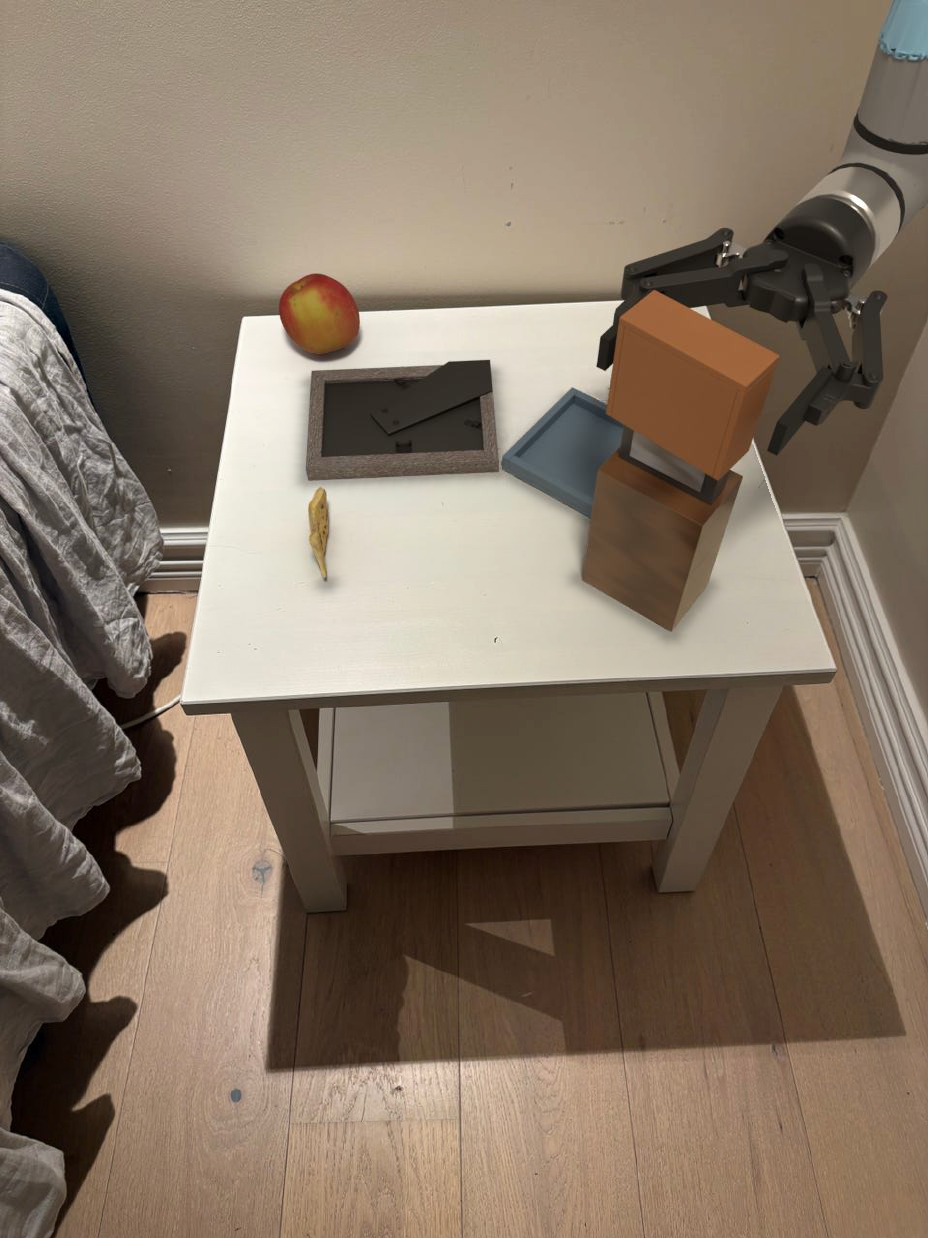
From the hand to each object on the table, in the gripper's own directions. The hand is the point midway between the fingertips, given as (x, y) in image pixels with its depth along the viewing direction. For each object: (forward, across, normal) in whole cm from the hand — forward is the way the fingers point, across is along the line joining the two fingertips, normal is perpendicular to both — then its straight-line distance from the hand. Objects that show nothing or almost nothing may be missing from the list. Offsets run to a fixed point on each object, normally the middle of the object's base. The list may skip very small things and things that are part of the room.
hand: (686, 395), depth 66 cm
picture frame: (-2, +29, -22) cm, 37 cm away
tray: (-9, +11, -22) cm, 26 cm away
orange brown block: (0, 0, -4) cm, 4 cm away
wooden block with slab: (0, 0, -22) cm, 22 cm away
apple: (-6, +43, -22) cm, 49 cm away
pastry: (+14, +25, -22) cm, 36 cm away
